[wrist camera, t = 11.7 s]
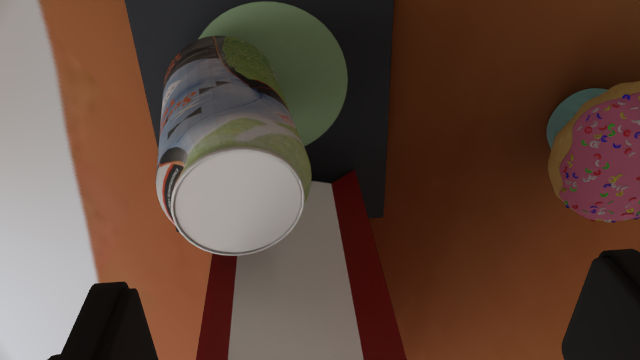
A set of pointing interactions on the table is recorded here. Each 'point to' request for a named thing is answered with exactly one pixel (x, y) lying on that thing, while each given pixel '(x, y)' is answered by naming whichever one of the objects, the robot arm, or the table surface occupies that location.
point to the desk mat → (294, 71)
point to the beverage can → (229, 149)
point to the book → (305, 290)
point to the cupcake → (597, 152)
